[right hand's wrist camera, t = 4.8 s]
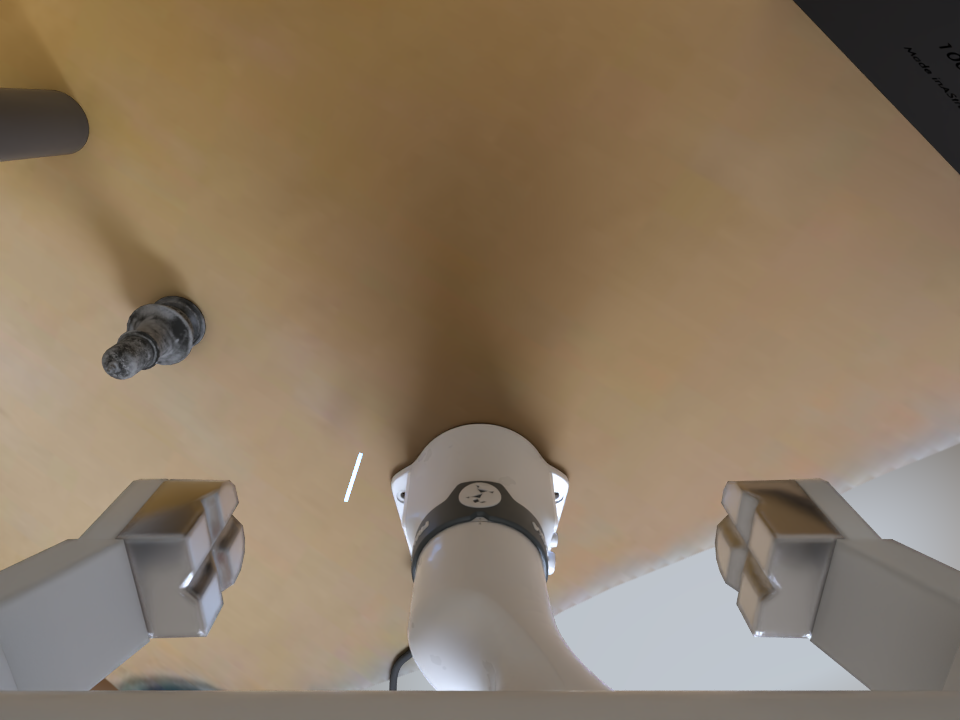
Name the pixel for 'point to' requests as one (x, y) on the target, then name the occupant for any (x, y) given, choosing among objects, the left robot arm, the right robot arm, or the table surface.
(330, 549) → the table surface
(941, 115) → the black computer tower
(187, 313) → the dark grey chess piece
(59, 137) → the grey tall cylinder
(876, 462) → the table surface
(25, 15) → the table surface
